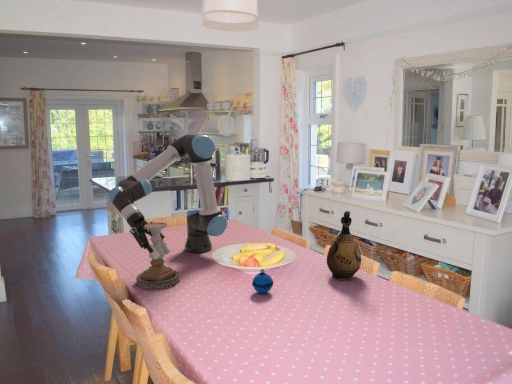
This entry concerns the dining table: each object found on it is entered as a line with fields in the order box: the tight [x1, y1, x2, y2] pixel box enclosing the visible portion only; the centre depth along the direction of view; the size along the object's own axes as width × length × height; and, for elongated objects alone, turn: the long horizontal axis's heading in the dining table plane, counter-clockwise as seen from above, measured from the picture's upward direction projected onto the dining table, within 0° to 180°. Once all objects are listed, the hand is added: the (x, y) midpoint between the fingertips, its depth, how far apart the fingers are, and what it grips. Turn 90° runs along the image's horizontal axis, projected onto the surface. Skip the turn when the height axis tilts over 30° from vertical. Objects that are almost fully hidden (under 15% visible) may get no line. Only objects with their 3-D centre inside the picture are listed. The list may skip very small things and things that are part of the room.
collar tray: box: [136, 269, 181, 290], centre depth 210 cm, size 19×19×3 cm
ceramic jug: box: [326, 210, 362, 281], centre depth 211 cm, size 17×15×30 cm
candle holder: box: [140, 221, 176, 282], centre depth 208 cm, size 11×11×24 cm
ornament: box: [251, 269, 274, 294], centre depth 195 cm, size 9×9×10 cm
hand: (163, 255), depth 207 cm, fingers closed on candle holder, 7 cm apart
